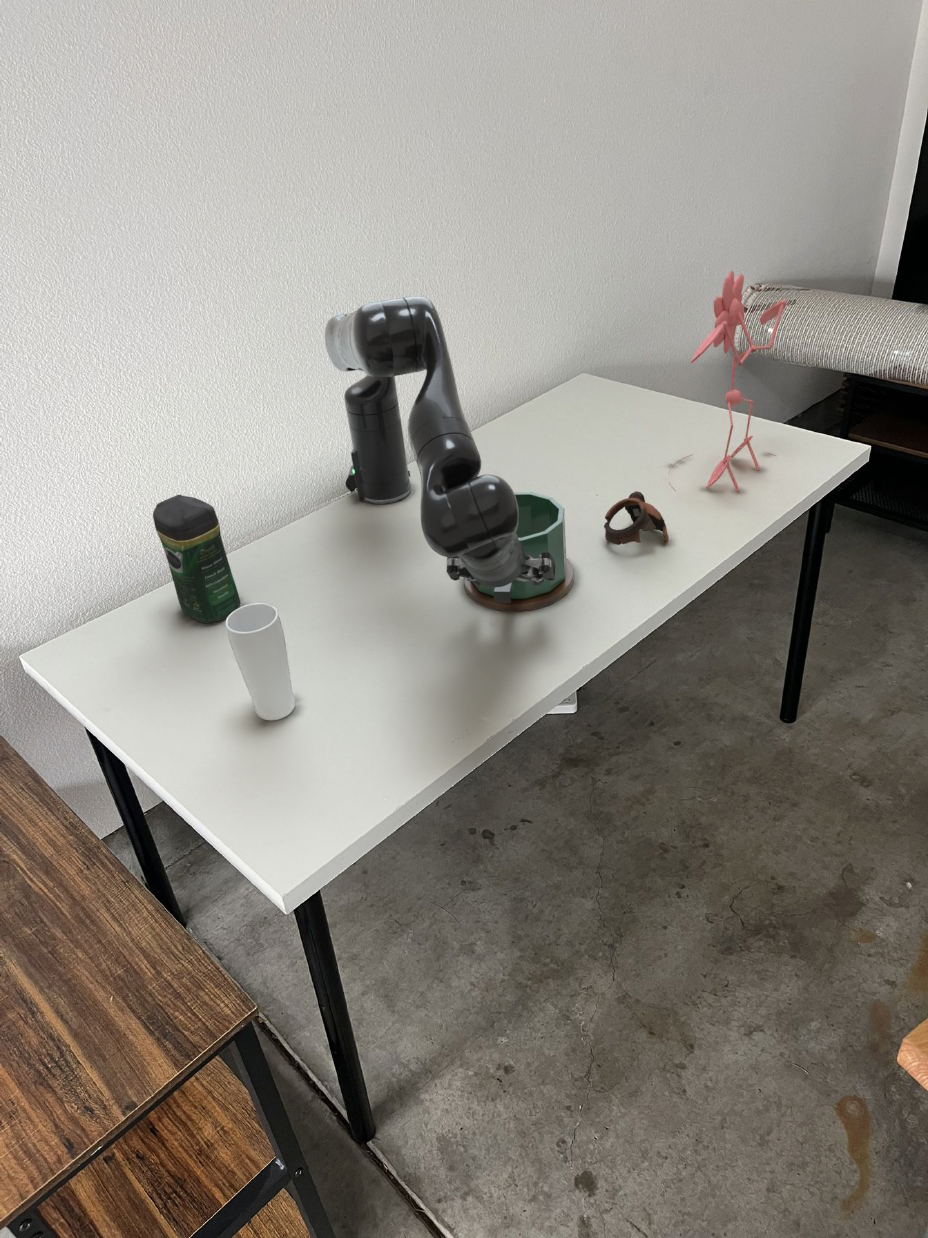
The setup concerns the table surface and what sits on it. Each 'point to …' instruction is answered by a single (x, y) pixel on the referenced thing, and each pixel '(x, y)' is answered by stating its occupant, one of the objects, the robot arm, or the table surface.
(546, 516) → the pot
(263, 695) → the drinking glass
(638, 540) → the brown ring-shaped piece
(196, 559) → the coffee jar
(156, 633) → the table surface
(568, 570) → the disc
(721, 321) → the figurine
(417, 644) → the table surface
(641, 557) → the table surface
